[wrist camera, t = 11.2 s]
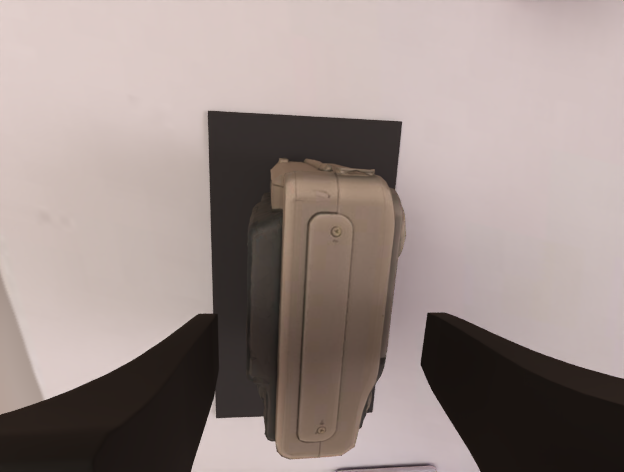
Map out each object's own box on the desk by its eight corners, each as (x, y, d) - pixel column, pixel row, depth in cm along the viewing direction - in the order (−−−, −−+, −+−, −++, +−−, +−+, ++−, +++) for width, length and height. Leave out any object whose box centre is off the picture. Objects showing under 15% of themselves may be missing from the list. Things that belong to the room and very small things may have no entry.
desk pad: (371, 410, 25) (372, 412, 25) (216, 416, 24) (216, 418, 24) (400, 121, 20) (402, 121, 20) (208, 110, 19) (207, 110, 19)
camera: (338, 335, 23) (381, 469, 14) (250, 333, 23) (231, 472, 13) (358, 161, 21) (431, 174, 11) (260, 152, 20) (245, 158, 10)
